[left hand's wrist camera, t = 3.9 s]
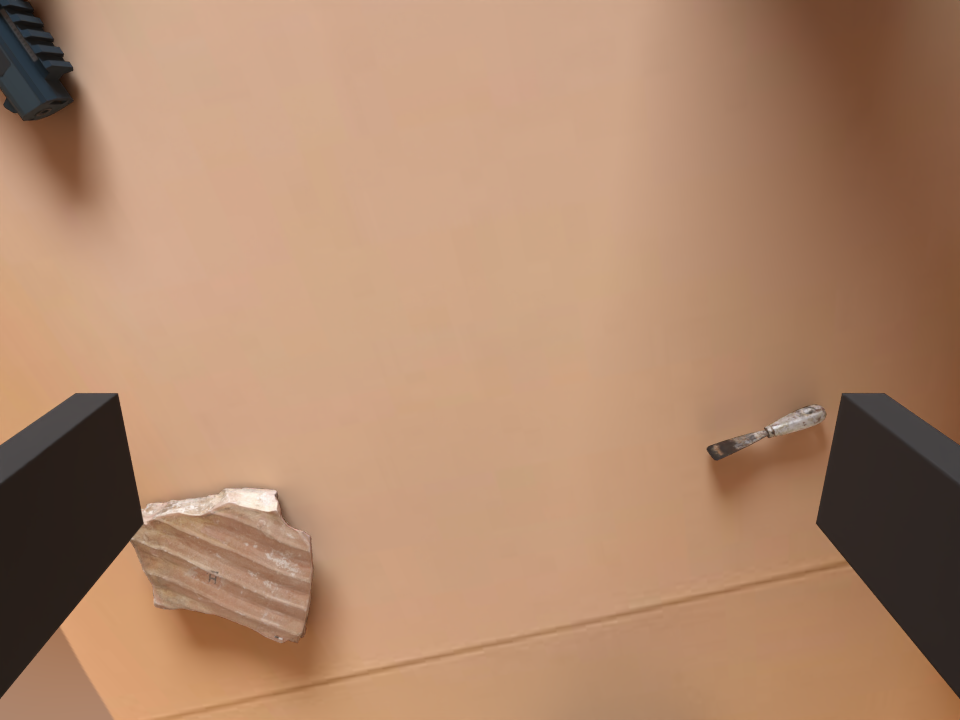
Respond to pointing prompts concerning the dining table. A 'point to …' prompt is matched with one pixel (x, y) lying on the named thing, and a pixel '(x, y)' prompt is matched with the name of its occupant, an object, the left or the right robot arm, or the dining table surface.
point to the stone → (229, 560)
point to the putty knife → (771, 430)
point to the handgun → (30, 64)
